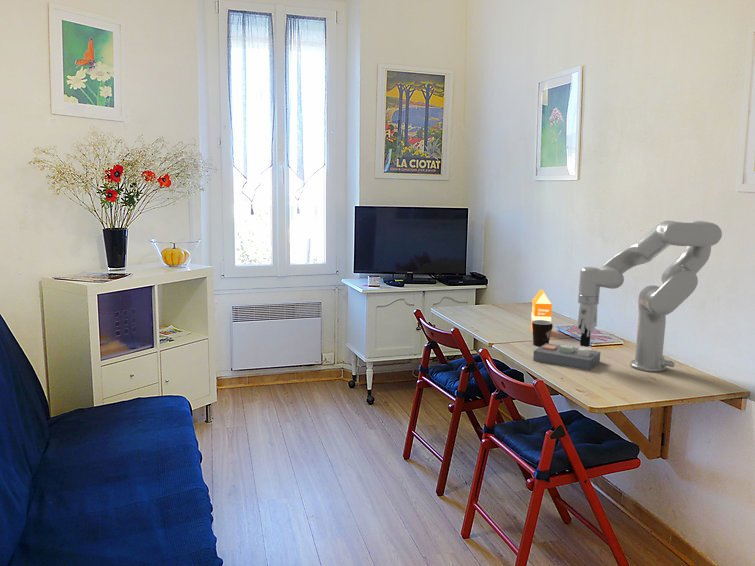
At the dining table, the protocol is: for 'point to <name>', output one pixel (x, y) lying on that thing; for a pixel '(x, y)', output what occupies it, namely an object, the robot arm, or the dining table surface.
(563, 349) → the key sage
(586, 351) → the key cream
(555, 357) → the grey button panel
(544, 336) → the coffee mug
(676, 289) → the robot arm
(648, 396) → the dining table surface
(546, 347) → the key terracotta
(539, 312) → the orange juice
